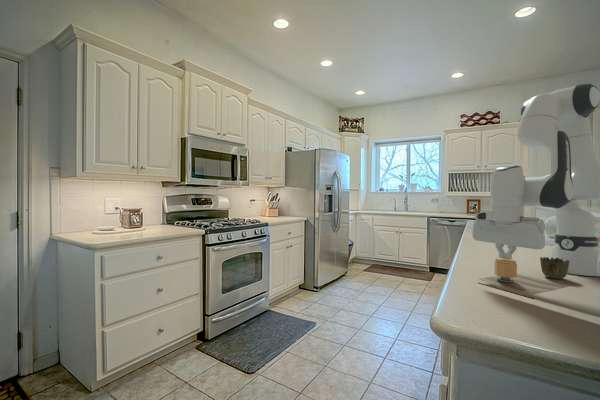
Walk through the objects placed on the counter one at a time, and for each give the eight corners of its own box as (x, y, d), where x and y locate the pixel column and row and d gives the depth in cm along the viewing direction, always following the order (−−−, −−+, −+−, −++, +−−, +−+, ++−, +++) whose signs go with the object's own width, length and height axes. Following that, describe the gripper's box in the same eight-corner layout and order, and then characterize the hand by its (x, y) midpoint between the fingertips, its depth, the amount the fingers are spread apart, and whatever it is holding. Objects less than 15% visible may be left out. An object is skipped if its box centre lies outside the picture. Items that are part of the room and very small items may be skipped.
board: (514, 277, 103) (514, 273, 103) (571, 290, 88) (571, 285, 88) (477, 283, 94) (477, 278, 94) (533, 299, 80) (534, 293, 80)
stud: (502, 278, 95) (502, 260, 95) (516, 282, 91) (517, 263, 91) (493, 279, 93) (494, 261, 93) (508, 283, 89) (508, 264, 89)
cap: (501, 272, 96) (501, 257, 96) (519, 276, 91) (519, 260, 91) (491, 274, 93) (491, 258, 93) (509, 278, 89) (510, 262, 89)
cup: (575, 285, 93) (575, 261, 93) (552, 285, 93) (552, 261, 93) (555, 279, 101) (555, 256, 101) (534, 279, 101) (534, 256, 101)
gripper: (550, 217, 84) (549, 264, 84) (481, 214, 103) (480, 252, 103) (538, 218, 81) (537, 266, 81) (470, 214, 100) (469, 253, 100)
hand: (505, 258), depth 92 cm, fingers closed
